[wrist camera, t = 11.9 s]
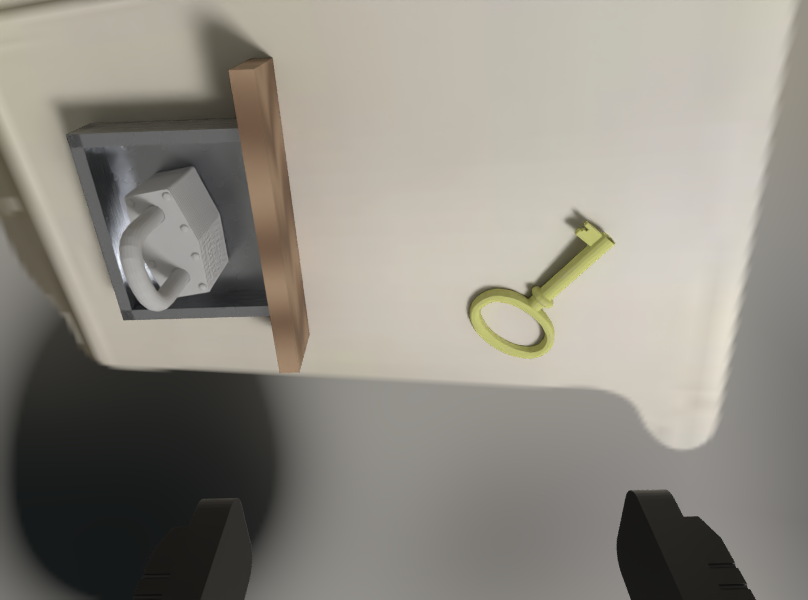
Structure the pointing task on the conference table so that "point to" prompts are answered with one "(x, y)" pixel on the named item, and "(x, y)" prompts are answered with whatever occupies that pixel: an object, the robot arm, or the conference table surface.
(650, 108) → the conference table surface
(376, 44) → the conference table surface
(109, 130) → the grey metal tray
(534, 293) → the key
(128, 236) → the padlock
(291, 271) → the door strip
